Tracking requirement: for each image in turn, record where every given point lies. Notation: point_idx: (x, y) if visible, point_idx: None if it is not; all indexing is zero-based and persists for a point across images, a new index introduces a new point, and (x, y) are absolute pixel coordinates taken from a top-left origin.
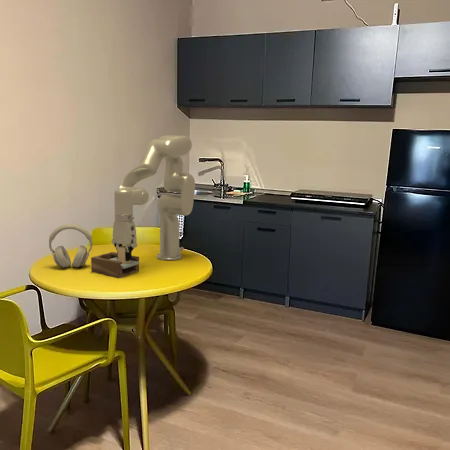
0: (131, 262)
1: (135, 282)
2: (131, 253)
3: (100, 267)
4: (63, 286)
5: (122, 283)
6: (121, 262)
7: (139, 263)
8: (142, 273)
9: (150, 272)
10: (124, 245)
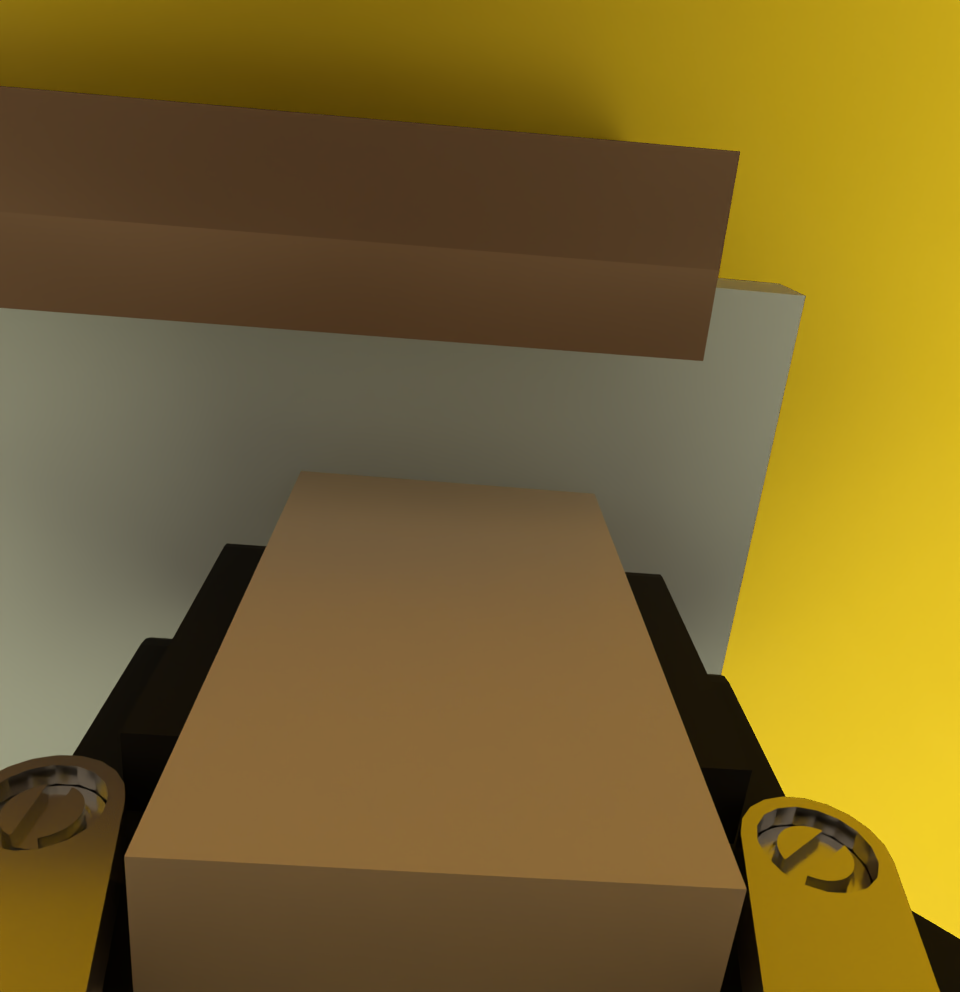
0: (621, 509)
1: (950, 797)
2: (713, 691)
3: None
4: None
5: None
6: None
7: (780, 288)
8: (796, 263)
9: (943, 77)
10: (178, 867)
